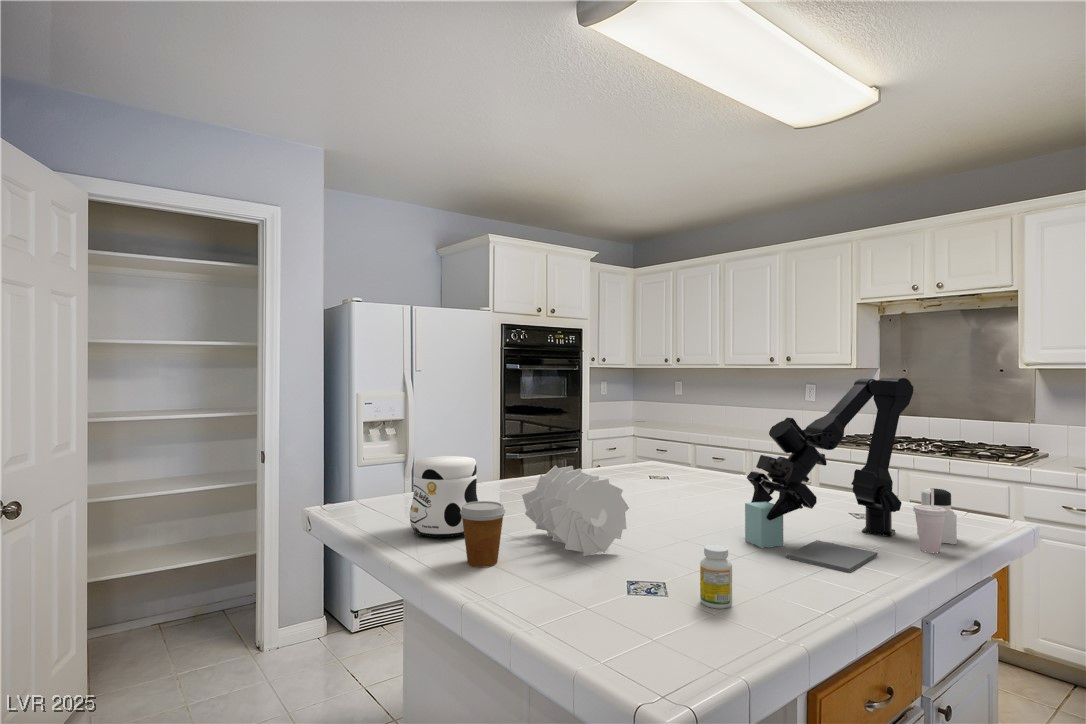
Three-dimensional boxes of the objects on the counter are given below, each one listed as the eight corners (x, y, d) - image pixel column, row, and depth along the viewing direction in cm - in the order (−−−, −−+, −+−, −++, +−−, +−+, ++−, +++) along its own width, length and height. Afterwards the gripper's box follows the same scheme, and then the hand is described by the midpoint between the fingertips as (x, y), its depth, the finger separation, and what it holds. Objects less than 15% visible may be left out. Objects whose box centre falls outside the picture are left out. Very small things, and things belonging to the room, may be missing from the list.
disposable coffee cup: (469, 572, 120) (469, 512, 120) (453, 559, 128) (453, 503, 128) (512, 565, 124) (512, 507, 124) (494, 553, 133) (494, 498, 133)
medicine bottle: (951, 537, 146) (950, 488, 147) (957, 545, 140) (956, 493, 140) (916, 534, 149) (916, 485, 150) (921, 541, 143) (920, 490, 143)
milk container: (395, 537, 145) (395, 462, 145) (434, 521, 161) (434, 453, 161) (457, 545, 139) (458, 467, 139) (491, 527, 155) (492, 457, 155)
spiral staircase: (568, 546, 152) (618, 571, 129) (508, 521, 146) (549, 543, 123) (594, 478, 156) (647, 491, 133) (537, 452, 150) (582, 460, 128)
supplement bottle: (724, 612, 101) (724, 554, 101) (694, 604, 104) (694, 548, 104) (737, 602, 105) (737, 547, 105) (708, 595, 108) (708, 541, 108)
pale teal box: (766, 539, 145) (766, 501, 145) (783, 545, 139) (783, 506, 139) (745, 541, 143) (745, 503, 143) (761, 548, 137) (761, 508, 137)
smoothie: (952, 556, 132) (952, 492, 132) (920, 554, 133) (919, 490, 133) (939, 547, 138) (939, 486, 138) (908, 545, 139) (908, 485, 139)
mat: (817, 543, 141) (817, 540, 141) (877, 556, 131) (877, 552, 131) (786, 557, 130) (786, 554, 130) (849, 572, 120) (849, 568, 120)
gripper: (753, 439, 151) (714, 485, 148) (805, 448, 133) (763, 501, 130) (779, 468, 153) (742, 515, 150) (834, 481, 136) (794, 534, 132)
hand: (758, 515), depth 140 cm, fingers open, 6 cm apart
